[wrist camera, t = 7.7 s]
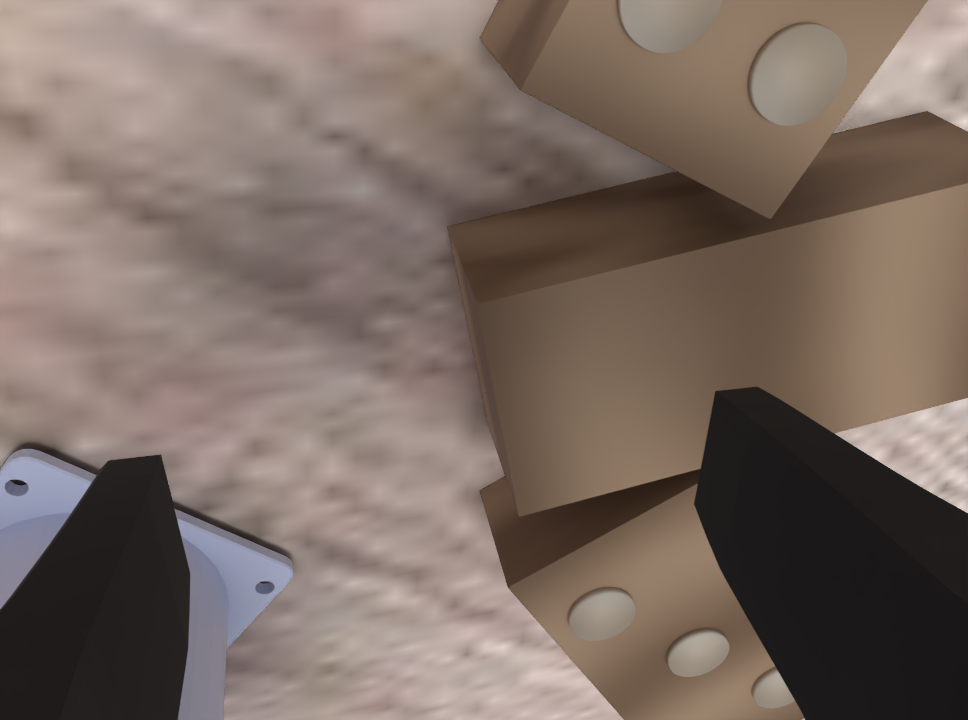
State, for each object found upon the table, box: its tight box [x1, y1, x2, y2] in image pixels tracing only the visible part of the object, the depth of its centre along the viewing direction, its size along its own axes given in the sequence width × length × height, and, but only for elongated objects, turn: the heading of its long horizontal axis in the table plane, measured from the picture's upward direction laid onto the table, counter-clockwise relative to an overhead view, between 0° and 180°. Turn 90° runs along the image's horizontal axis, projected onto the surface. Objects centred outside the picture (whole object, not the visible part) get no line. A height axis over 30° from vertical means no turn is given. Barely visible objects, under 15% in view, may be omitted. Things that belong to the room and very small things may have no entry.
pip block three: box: [480, 469, 804, 720], centre depth 27 cm, size 12×6×4 cm, turn 29°
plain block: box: [447, 111, 968, 517], centre depth 21 cm, size 12×6×4 cm, turn 99°
